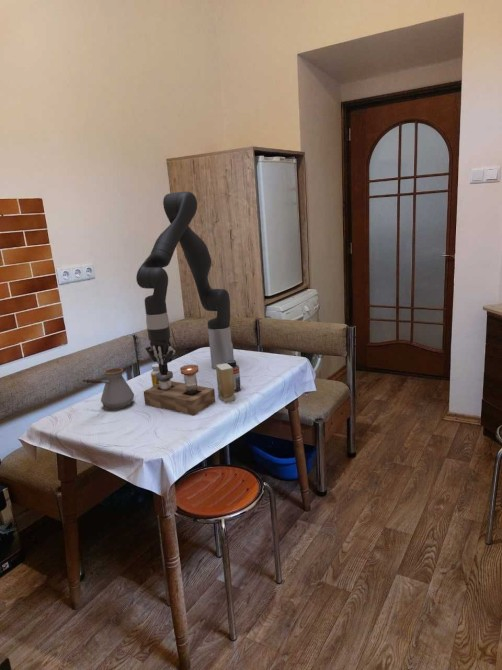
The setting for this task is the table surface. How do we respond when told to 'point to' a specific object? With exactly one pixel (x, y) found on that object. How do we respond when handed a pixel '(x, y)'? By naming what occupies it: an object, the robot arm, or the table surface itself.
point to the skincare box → (225, 382)
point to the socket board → (179, 398)
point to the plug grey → (164, 380)
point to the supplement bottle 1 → (153, 372)
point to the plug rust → (190, 379)
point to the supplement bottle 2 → (235, 374)
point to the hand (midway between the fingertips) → (163, 373)
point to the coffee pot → (114, 389)
